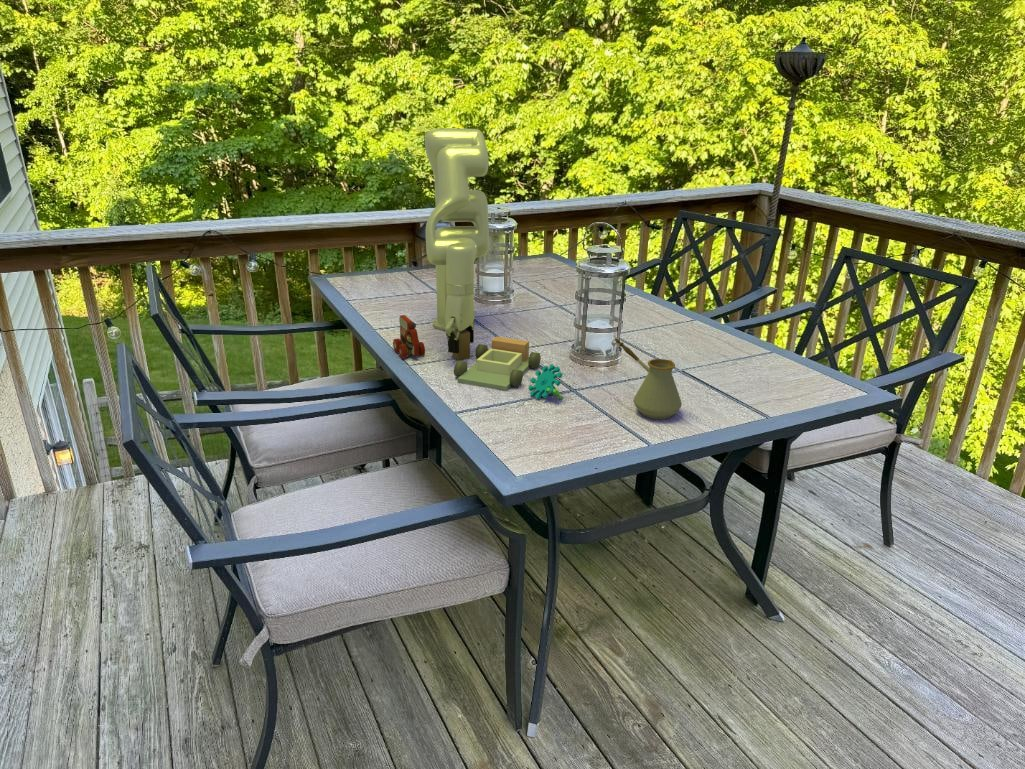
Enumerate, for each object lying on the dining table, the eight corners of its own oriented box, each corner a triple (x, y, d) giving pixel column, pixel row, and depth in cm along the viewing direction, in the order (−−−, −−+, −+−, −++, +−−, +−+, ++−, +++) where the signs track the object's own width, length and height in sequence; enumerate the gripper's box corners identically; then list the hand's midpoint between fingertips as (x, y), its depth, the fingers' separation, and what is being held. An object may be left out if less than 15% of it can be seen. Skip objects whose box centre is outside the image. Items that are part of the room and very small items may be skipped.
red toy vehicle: (404, 362, 206) (403, 327, 202) (391, 348, 216) (389, 315, 212) (428, 359, 209) (427, 324, 205) (413, 345, 219) (412, 312, 215)
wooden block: (463, 354, 213) (463, 327, 210) (470, 358, 210) (470, 331, 207) (451, 356, 211) (451, 330, 208) (458, 360, 208) (458, 334, 205)
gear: (521, 383, 190) (548, 356, 188) (534, 395, 193) (561, 368, 192) (538, 405, 181) (567, 377, 180) (552, 417, 184) (580, 389, 183)
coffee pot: (690, 414, 178) (697, 356, 172) (659, 427, 171) (665, 367, 165) (625, 386, 193) (629, 332, 187) (594, 397, 186) (597, 341, 180)
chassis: (484, 354, 213) (484, 334, 211) (542, 363, 207) (543, 342, 205) (450, 381, 194) (450, 359, 192) (514, 392, 188) (514, 369, 186)
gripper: (461, 280, 211) (462, 336, 218) (433, 294, 196) (435, 355, 203) (485, 283, 209) (485, 340, 215) (459, 297, 194) (460, 358, 200)
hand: (461, 347), depth 209 cm, fingers open, 9 cm apart
